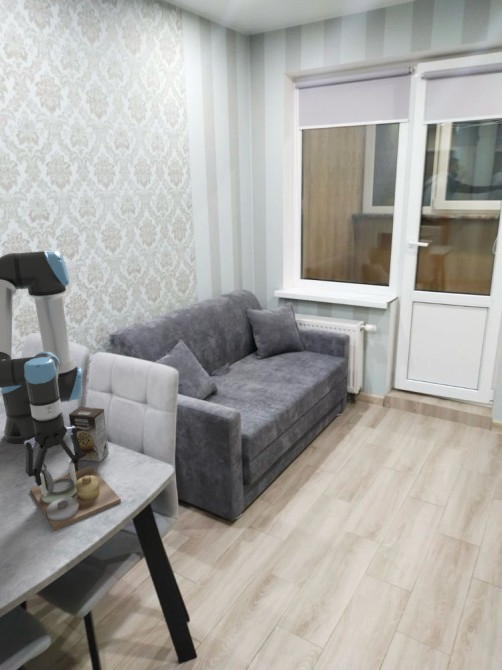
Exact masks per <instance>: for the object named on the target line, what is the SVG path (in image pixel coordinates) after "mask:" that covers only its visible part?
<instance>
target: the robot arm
mask: <svg viewBox="0 0 502 670" xmlns="http://www.w3.org/2000/svg"><path fill="white" fill-rule="evenodd" d="M69 285H70V279H69V274H68V269H67V265H66V262H65V260H64V257H63V255H62V254H61V253H60V252H59V251H56V250H55V251H52V250H41V251H30V252H26V251H25V252H13V253H7V254H4V255H1V256H0V389H1V390H0V391H1V392H0V393H1V395H2V401H3V406H4V410H5V414H6V415H5V416H6V420H5V424H4V429H3V434H4V435H3V436H4V440H5V441H6V442H8V443H11V444H23V445H24V447H25V473H26V474H27V476H28V477H30V478H31V477H34V481H35V484H36V486H37V485H38V486H41V492H42V493H43V495H44V496H47V491H46V486H45V480H44V475H43V473H42V472H41V470H42V469H43V467H44V465H43V464H44V463H45V462H44V461H45V458H46V455H47V453H48V450H49V449H51V448H53V447H57V446H61V448H62V449H63V450H64V451H65V453H66V455H67V456H68V457H69V458H70V459H69V460H68V461H67V462H68V468H69V474H70V475H71V479H72V480H73V482H74V485H75V484H76V482H77V480H76V473H75V472H77V471H78V470H80V468H79V465H78V464H79V459H80V458H83V457H84V456H83V453H82V450H81V447H80V444H79V441H78V438H77V428H76V427H75V426H74V425H71V426H70V425H69V426H68V427H66V426H65V420H64V414H63V412H62V411H63V408H62V403H66V402H68V403H69V402H70V401H76V400H80V398H82V385H83V384H82V382H83V381H82V377H83V376H82V375H83V372H82V371H83V370H82V367H80V366H78V365H77V362H76V361H75V360H73V359H72V355H71V354H72V353H71V350H70V349H71V346H70V341H69V335H68V329H67V321H66V314H65V307H64V301H63V295H64V294H65V293H66V292H67V289H66V288H67V287H69ZM17 290H27V293H28V295H29V297H32V298H33V299H34V304H35V310H36V315H37V322H38V327H39V333H40V340H41V343H42V351H41V352H39V353H37V354H36V355H35V356H28V357H20V358H12V342H13V340H12V335H13V298H14V297H15V296H16V294H17ZM66 434H68V435H69V436H70V439H71V442H72V446H73V445H74V446H73V449H74V448H75V451H76V454H75V453H73V452H72V450H71V449H70V447H69V446H68V445H67V442H65V441H64V440H63V439H64V438H65V436H66ZM35 443H38V445H39V446H38V453H37V456H36V459H35V463H34V449H33V448H34V447H35ZM43 462H44V463H43Z"/></svg>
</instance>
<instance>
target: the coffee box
mask: <svg viewBox="0 0 502 670" xmlns="http://www.w3.org/2000/svg"><path fill="white" fill-rule="evenodd" d="M68 418H69V424H70V425H69V427H70V426H71V425H74V426H75V427H76V428H77V438H78V441H79V444H80V447H81V450H82V453H83V456H84V457H83V458H80V459H79V460H80V461H87V462H88V461H89V462H95V463H100V462H101V461H102V460H103V459H104V458H105V457H106V456H107V455H108V454H110V452H109V443H108V433H107V426H106V425H107V424H106V415H105V408H98V407H88V406H87V407H85V406H78V407H77V408H76V409H74V410H73V411H72V412H70V413H69V414H68ZM72 446H73V451H74V453H73V454H74V455H75V454H76V451H75V448H74V445H73V444H72ZM79 460H78V461H79Z"/></svg>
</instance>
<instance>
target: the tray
mask: <svg viewBox="0 0 502 670" xmlns="http://www.w3.org/2000/svg"><path fill="white" fill-rule="evenodd" d="M75 473H76V480H77V482H76V484H75V485H73V487H72V488H71V489H69V490H68V491H66V492H63V493H57V494H56V493H52V492H48V491H47V490H46V491H47V496H44V495H43V493H42V492H41V486H38V485H37V484H36V485H35V486H32V487H30V493H31V494H32V495H33V498H34V499H35V500H36V502H37V504H38V505H39V508H40V509H41V510H42V512H43V514H44V515H45V517H46V519H47V520H48V522H49V525H50V526H51V527H52V529H53V530H54V531H56V530H57V531H58V530H59V529H61V528H65V526H68V525H70V524H74V523H75V522H77V521H80V520H82V519H85V518H87V517H89V516H92V515H94V514H95V513H99V512H101V511H103V510H106V509H108V508H110V507H113V506H115V505H118V504H119V503H121V502H122V500H121V498H120V496H119V495H118V494H117V493H116V492H115V490H113V488H112V487H111V486H110V485H109V484H108V483H107V482H106V480H105V479H104V478H103V477H102V476H101V475H100V474H99V473H98V471H97V470H96V469H94V467H93V466H92V465H89V466H86V467H83V468H81V469H79V470H78V471H77V472H75ZM62 478H69V479H71V475H70V473H68V474H64V475H62V476H60V477H56V478H53V482H54V481H55V480H58V479H62Z"/></svg>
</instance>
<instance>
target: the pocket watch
mask: <svg viewBox="0 0 502 670" xmlns="http://www.w3.org/2000/svg"><path fill="white" fill-rule="evenodd" d="M41 472H42V473H43V475H44V480H45V486H46V490H47V491H48V492H52V493H56V494H57V493H63V492H66V491H68V490H69V489H71V488H72V487H73V485H74V482H73V480H72V479H69V478H62V479H58V480H55V481H54V482H53V480H54V478H53V476H52V474H51V472H50V471H49V470H48V466H47V464H46V463H45V462H43V468H42V470H41Z"/></svg>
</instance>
